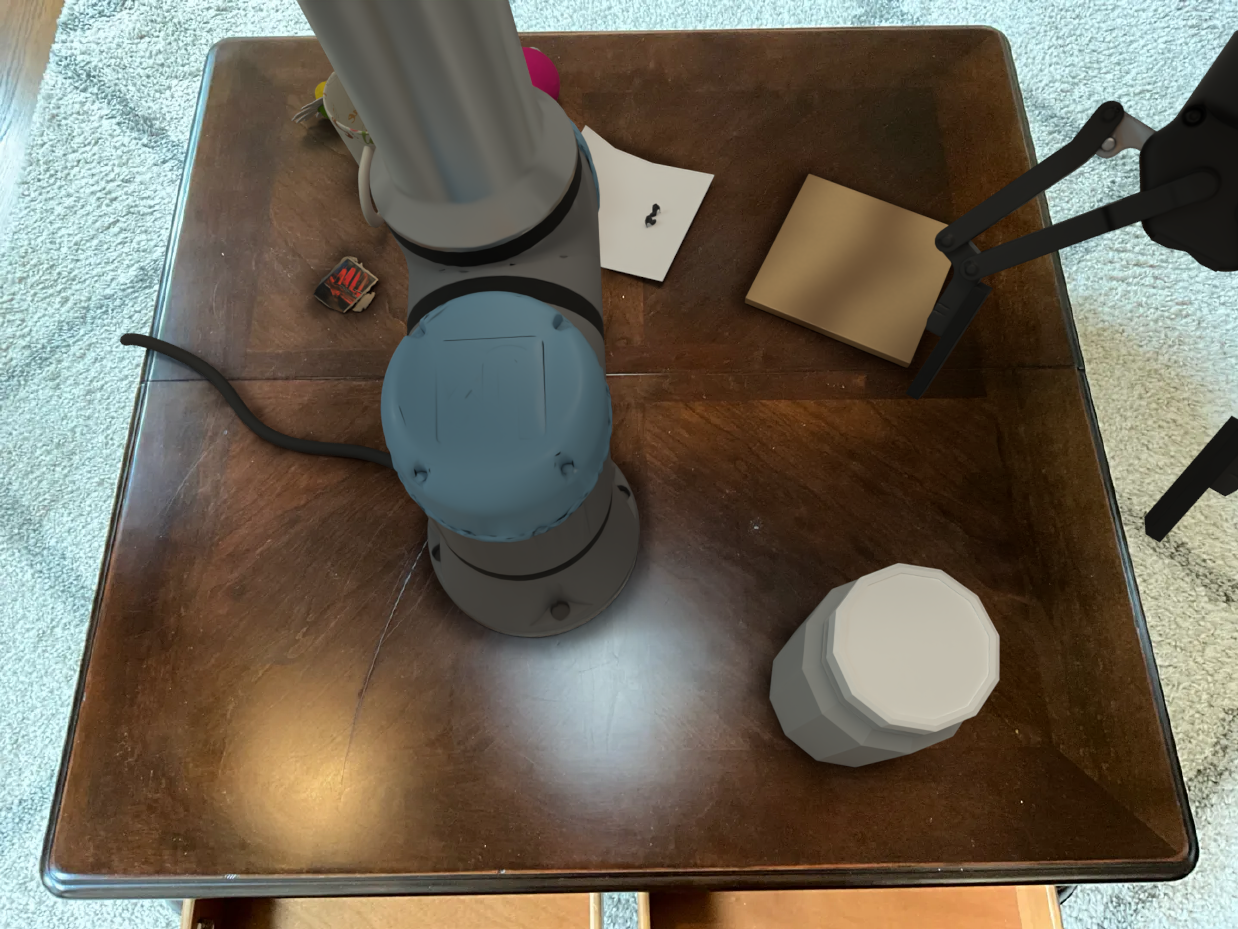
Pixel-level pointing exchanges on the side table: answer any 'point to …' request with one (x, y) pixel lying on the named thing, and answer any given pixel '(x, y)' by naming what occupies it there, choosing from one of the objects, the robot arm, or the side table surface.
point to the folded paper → (642, 209)
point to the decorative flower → (313, 106)
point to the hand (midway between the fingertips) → (1028, 458)
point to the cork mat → (853, 270)
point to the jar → (885, 667)
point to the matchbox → (346, 286)
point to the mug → (352, 140)
